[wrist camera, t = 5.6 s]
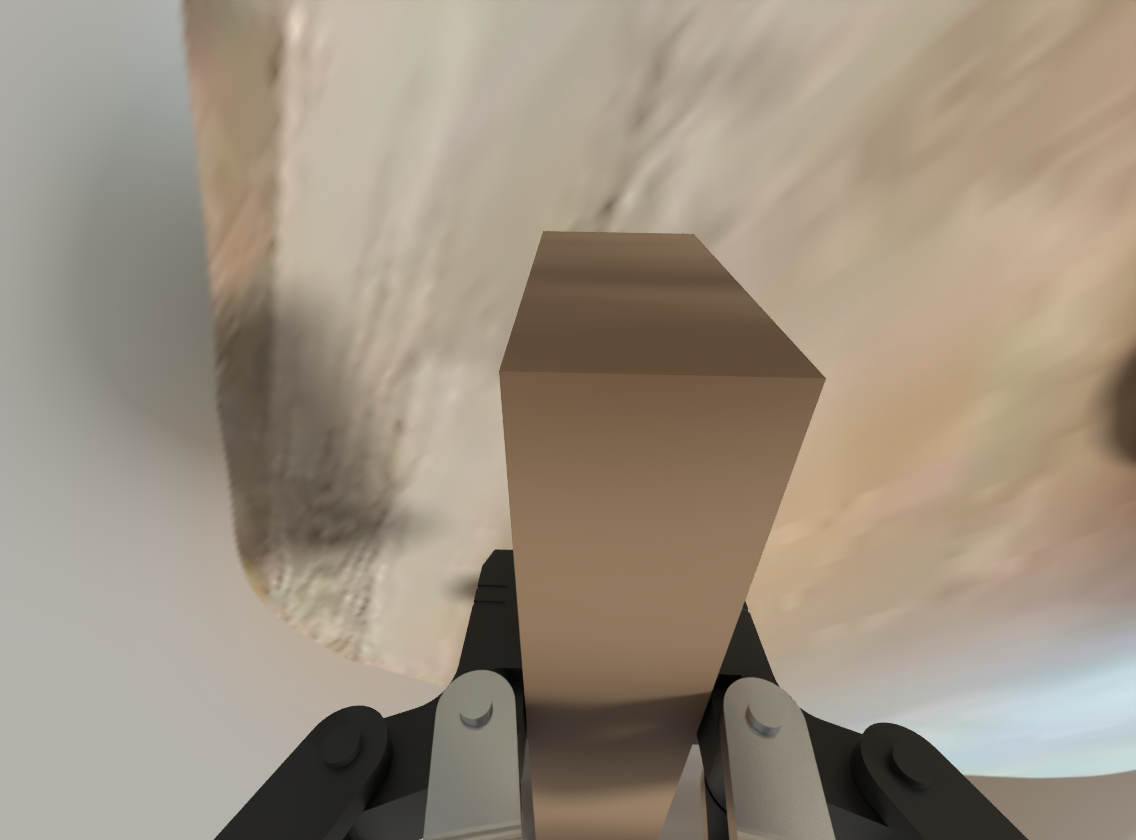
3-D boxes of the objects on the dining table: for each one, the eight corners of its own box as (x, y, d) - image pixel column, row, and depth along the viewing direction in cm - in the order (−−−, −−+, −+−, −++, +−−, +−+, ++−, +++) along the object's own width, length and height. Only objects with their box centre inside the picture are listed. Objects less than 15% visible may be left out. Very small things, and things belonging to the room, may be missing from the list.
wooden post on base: (418, 229, 9) (231, 365, 4) (819, 236, 9) (1101, 384, 4) (484, 650, 18) (446, 861, 13) (694, 656, 18) (739, 871, 13)
